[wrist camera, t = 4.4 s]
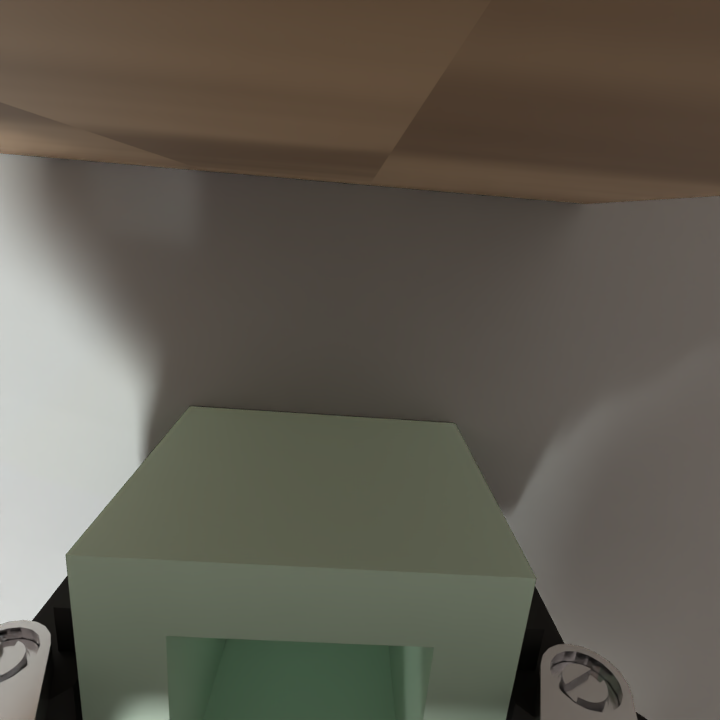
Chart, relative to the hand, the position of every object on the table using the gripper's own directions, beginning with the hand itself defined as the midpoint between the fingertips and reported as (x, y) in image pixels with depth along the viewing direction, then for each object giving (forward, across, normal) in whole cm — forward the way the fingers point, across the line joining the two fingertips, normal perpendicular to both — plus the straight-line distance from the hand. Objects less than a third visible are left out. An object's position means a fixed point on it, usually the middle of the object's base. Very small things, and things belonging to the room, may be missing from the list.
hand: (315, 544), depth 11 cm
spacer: (+1, 0, 0) cm, 1 cm away
